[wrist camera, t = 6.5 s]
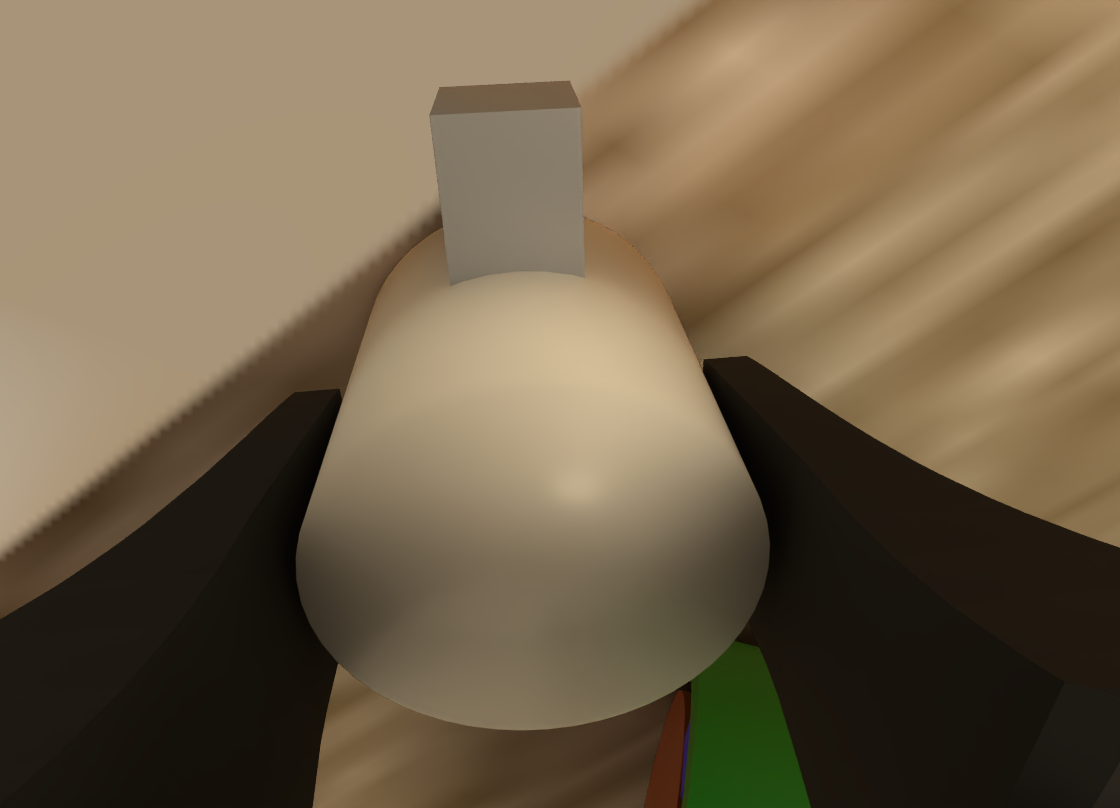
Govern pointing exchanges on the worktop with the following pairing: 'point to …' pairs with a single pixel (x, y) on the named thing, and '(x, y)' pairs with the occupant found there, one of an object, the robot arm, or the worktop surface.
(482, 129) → the cream capsule with tab
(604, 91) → the worktop surface
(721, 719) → the green vase with flowers
